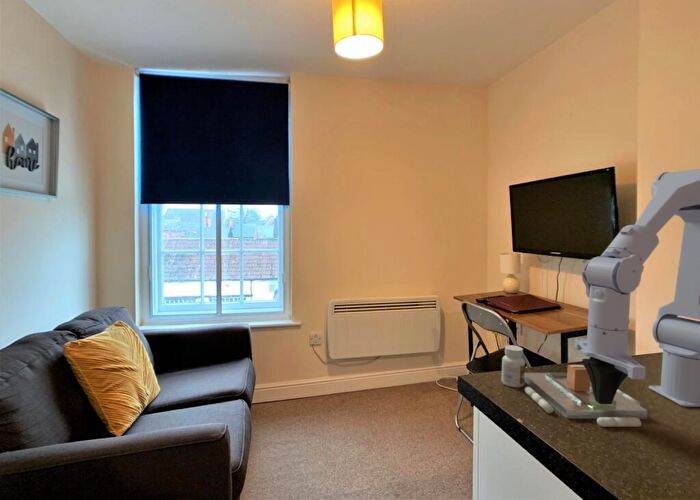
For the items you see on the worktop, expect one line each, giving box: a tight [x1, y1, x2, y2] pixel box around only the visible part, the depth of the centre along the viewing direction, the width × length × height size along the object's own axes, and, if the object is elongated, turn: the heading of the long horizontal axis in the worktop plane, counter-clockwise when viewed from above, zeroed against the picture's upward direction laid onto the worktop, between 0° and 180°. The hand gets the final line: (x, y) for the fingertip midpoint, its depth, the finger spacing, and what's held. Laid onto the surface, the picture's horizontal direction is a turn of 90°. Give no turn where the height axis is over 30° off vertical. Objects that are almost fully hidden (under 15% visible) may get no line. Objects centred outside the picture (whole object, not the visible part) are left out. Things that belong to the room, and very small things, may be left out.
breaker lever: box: [566, 364, 590, 391], centre depth 70 cm, size 3×2×4 cm
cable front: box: [524, 386, 555, 414], centre depth 69 cm, size 1×8×1 cm, turn 0°
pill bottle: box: [500, 344, 526, 388], centre depth 76 cm, size 4×4×8 cm
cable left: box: [596, 417, 642, 428], centre depth 60 cm, size 7×1×1 cm, turn 90°
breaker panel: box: [524, 371, 648, 420], centre depth 71 cm, size 14×16×2 cm
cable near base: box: [617, 389, 642, 407], centre depth 71 cm, size 1×10×1 cm, turn 0°
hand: (603, 402), depth 64 cm, fingers closed
